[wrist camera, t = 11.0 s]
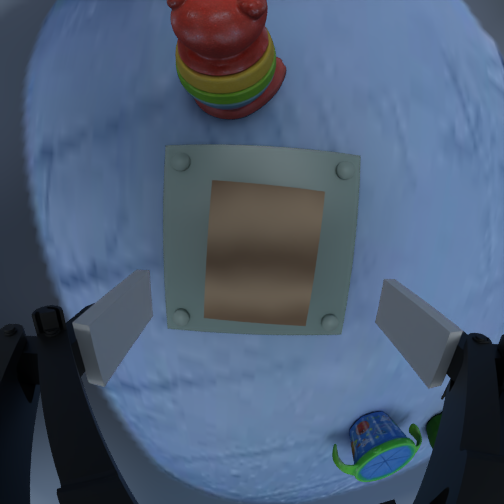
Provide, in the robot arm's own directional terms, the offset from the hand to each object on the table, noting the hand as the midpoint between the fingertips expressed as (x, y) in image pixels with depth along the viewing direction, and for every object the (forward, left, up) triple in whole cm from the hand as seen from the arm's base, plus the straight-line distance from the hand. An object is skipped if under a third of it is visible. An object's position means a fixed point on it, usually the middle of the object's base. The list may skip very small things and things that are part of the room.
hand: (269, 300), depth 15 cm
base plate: (0, 0, -18) cm, 18 cm away
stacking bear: (-19, -4, -18) cm, 26 cm away
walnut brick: (0, 0, -17) cm, 17 cm away
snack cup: (+31, +21, -18) cm, 42 cm away
